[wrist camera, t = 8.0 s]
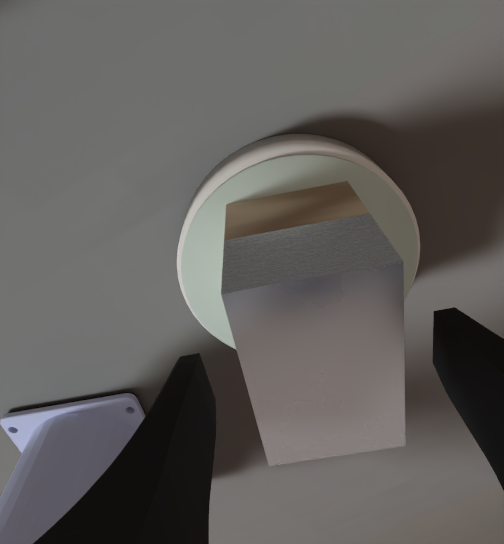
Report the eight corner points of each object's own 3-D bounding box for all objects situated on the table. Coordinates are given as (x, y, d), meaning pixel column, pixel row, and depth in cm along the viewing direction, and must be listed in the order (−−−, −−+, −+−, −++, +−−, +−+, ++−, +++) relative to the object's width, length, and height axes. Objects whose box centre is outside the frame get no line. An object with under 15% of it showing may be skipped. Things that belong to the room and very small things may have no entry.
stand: (403, 312, 22) (422, 344, 19) (212, 346, 22) (210, 380, 20) (399, 109, 17) (424, 122, 14) (153, 161, 17) (141, 181, 15)
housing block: (347, 180, 15) (403, 261, 10) (359, 330, 19) (405, 445, 14) (226, 204, 16) (221, 294, 11) (260, 346, 19) (268, 466, 14)
